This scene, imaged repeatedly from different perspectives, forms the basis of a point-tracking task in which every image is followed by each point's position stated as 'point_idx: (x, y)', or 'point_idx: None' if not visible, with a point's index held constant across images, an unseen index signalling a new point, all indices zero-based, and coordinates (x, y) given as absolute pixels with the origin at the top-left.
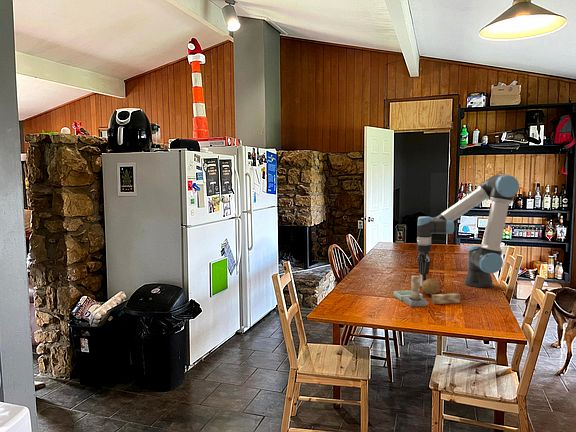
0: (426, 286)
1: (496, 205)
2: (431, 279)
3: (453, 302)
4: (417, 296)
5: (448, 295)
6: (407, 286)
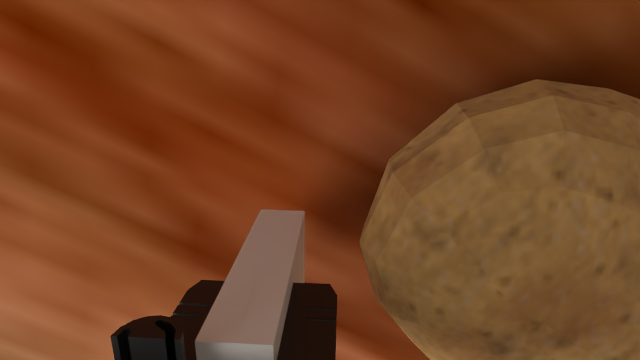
0: None
1: None
2: (637, 349)
3: None
4: None
5: None
6: (93, 318)
